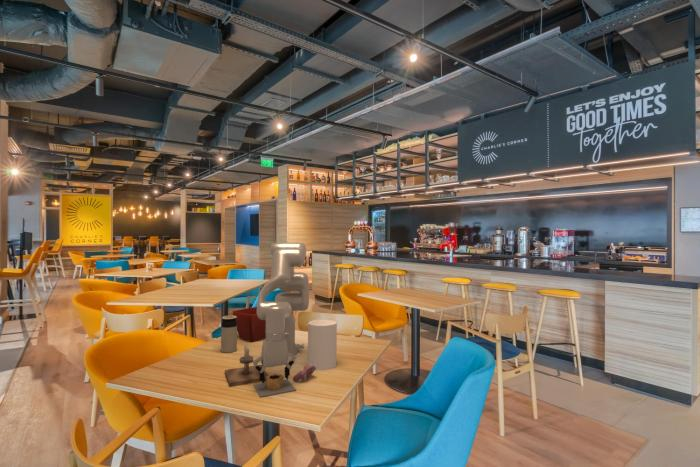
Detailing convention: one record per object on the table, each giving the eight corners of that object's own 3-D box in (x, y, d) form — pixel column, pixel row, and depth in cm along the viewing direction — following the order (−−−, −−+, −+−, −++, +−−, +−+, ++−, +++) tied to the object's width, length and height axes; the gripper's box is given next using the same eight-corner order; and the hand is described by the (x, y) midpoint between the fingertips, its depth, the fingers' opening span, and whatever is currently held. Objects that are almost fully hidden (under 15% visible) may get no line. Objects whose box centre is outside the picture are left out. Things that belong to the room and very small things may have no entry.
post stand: (261, 367, 163) (261, 339, 164) (269, 380, 149) (269, 349, 149) (224, 373, 156) (225, 343, 157) (229, 386, 142) (229, 354, 142)
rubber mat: (287, 379, 149) (287, 379, 149) (296, 390, 139) (296, 389, 139) (253, 385, 143) (253, 384, 143) (260, 397, 132) (260, 396, 132)
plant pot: (231, 338, 212) (231, 310, 212) (258, 332, 227) (258, 306, 227) (249, 344, 200) (250, 314, 200) (277, 338, 214) (277, 310, 215)
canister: (341, 366, 165) (341, 323, 166) (314, 371, 159) (315, 327, 159) (328, 358, 177) (329, 318, 178) (303, 362, 171) (303, 321, 171)
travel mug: (233, 353, 185) (234, 318, 185) (218, 353, 185) (219, 318, 185) (238, 348, 193) (239, 315, 193) (224, 348, 193) (224, 315, 193)
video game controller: (298, 387, 146) (305, 373, 145) (291, 379, 148) (297, 366, 147) (313, 379, 155) (319, 365, 153) (305, 372, 157) (311, 359, 155)
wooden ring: (280, 382, 145) (280, 373, 145) (284, 388, 140) (284, 378, 140) (264, 385, 142) (264, 375, 143) (268, 391, 137) (268, 381, 137)
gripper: (293, 332, 149) (292, 373, 148) (251, 336, 141) (250, 380, 141) (298, 336, 142) (298, 379, 141) (255, 341, 134) (254, 387, 134)
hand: (274, 379), depth 141 cm, fingers open, 9 cm apart
